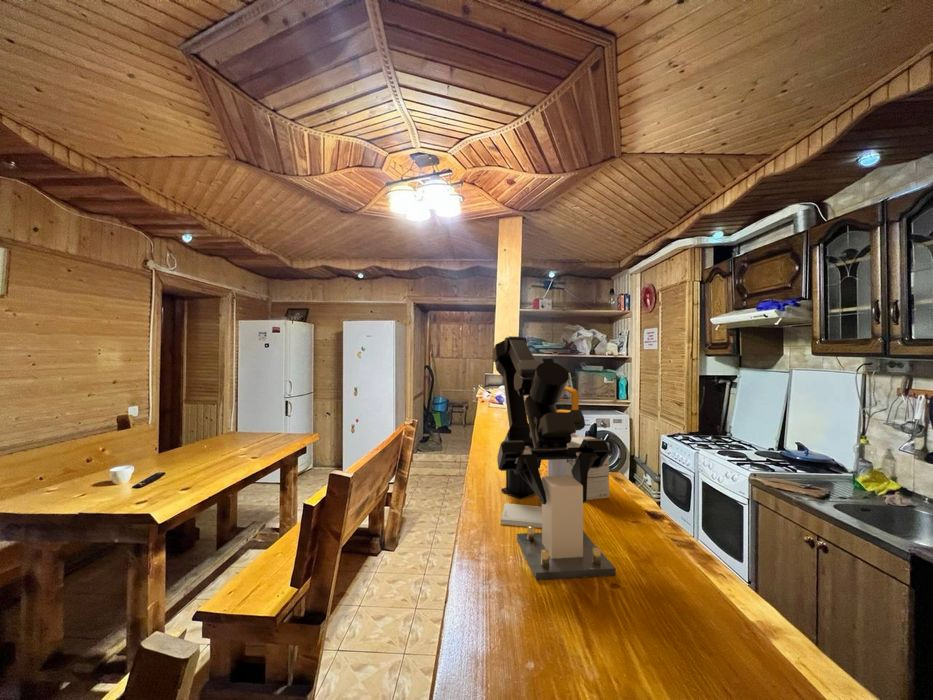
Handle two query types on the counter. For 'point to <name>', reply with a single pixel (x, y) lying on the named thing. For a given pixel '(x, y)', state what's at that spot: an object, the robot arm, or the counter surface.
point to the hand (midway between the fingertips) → (564, 502)
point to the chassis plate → (563, 559)
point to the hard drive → (522, 515)
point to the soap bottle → (560, 465)
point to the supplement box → (592, 474)
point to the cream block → (562, 517)
